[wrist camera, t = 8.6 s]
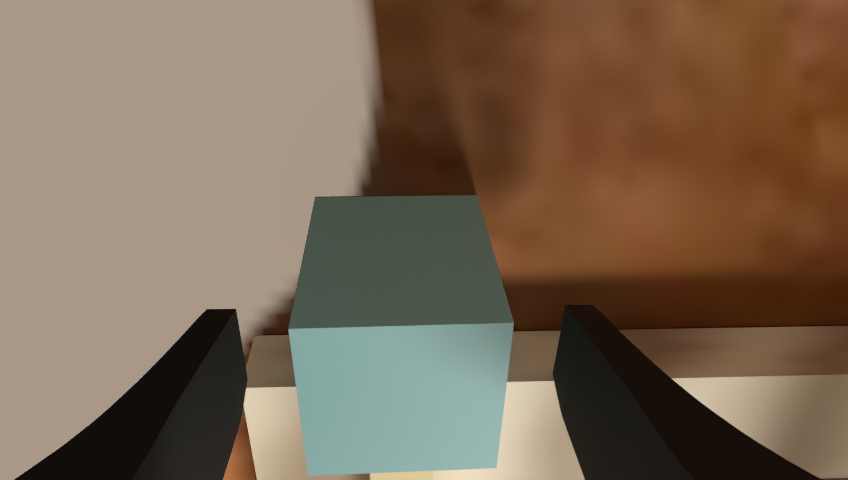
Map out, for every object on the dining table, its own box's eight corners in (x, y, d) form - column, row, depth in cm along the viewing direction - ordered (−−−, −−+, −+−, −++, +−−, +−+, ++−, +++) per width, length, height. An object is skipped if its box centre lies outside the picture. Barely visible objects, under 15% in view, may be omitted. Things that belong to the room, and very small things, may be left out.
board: (893, 325, 18) (948, 374, 16) (789, 508, 23) (823, 561, 21) (254, 335, 17) (240, 389, 15) (284, 527, 22) (275, 585, 20)
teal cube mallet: (476, 194, 15) (514, 322, 11) (458, 458, 20) (478, 614, 16) (315, 196, 15) (288, 328, 10) (339, 462, 20) (327, 622, 16)
